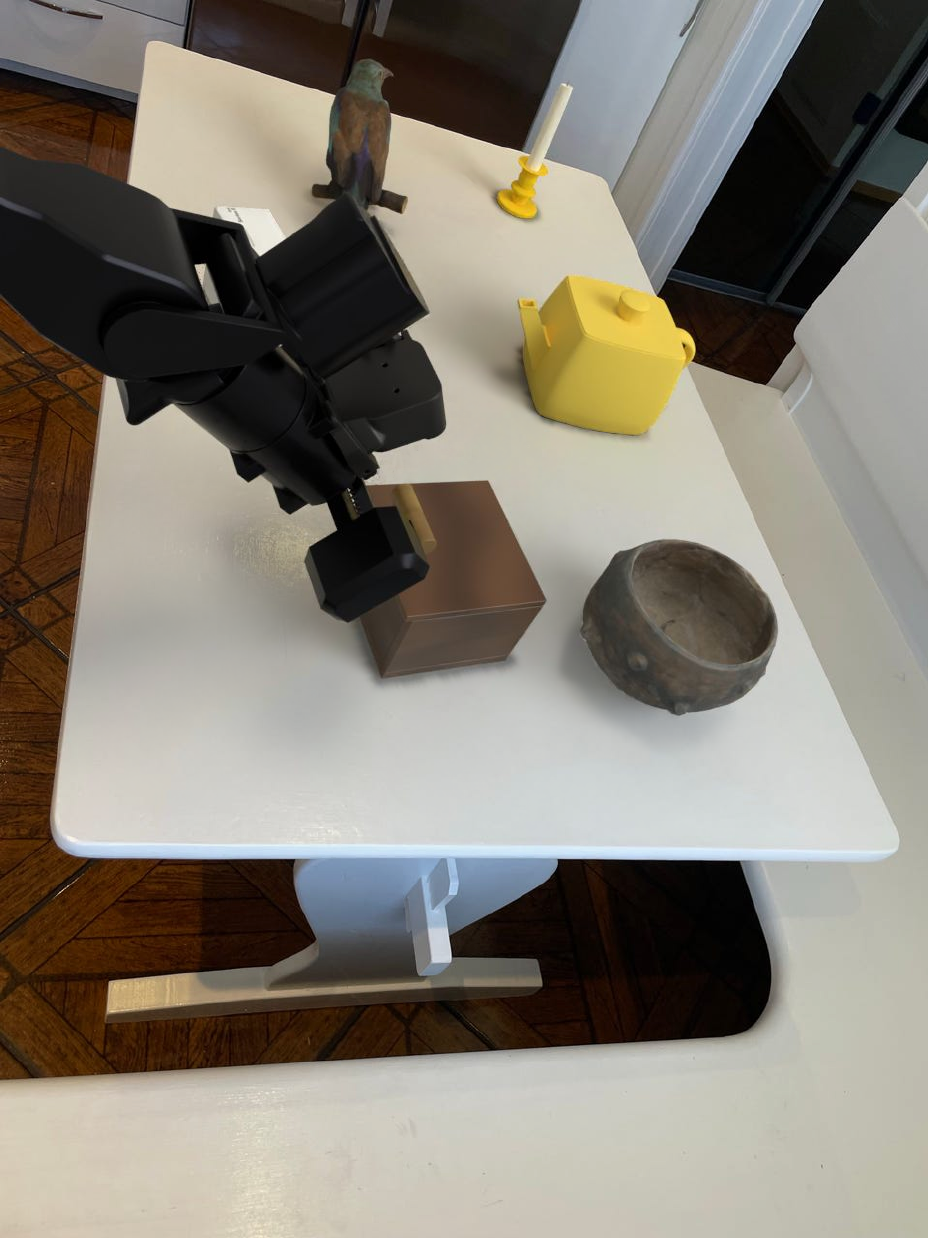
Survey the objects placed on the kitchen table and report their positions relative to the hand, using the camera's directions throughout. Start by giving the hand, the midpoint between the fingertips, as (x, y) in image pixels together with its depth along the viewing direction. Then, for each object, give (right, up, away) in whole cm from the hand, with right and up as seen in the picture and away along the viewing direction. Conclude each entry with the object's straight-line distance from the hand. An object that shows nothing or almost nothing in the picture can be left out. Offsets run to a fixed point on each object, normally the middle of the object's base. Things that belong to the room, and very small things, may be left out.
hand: (392, 526), depth 62 cm
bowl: (+19, -10, +15) cm, 26 cm away
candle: (+11, +45, +54) cm, 71 cm away
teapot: (+16, +18, +35) cm, 42 cm away
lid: (+4, -1, +5) cm, 6 cm away
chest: (+1, -5, +10) cm, 12 cm away
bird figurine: (-7, +38, +40) cm, 56 cm away
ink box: (-15, +17, +20) cm, 30 cm away
